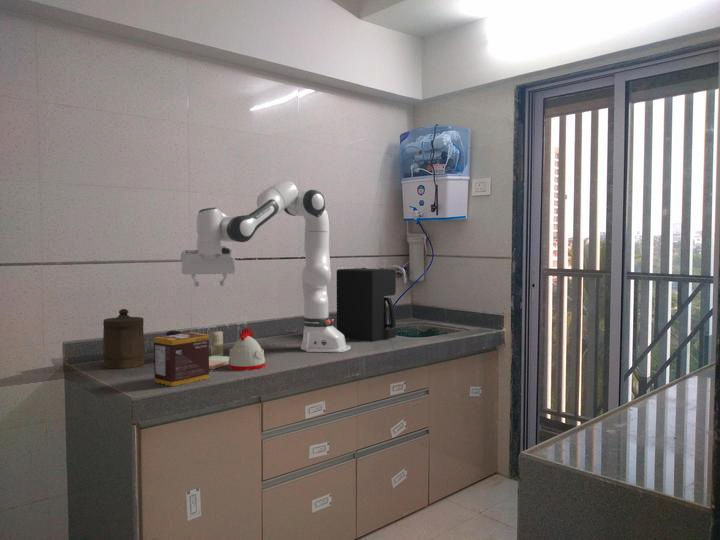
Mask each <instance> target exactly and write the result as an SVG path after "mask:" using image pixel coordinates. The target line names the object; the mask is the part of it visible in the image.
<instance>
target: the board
mask: <svg viewBox="0 0 720 540" xmlns="http://www.w3.org/2000/svg"><path fill="white" fill-rule="evenodd" d="M229 357H230V356H226V355H225V356H224V355H223V356H214V355H213V356H211V355H209V370H215V369H217V368H221V367H223V366H226V365H228V362H229Z"/></svg>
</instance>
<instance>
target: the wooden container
mask: <svg viewBox="0 0 720 540" xmlns="http://www.w3.org/2000/svg"><path fill="white" fill-rule="evenodd" d="M144 322H145V321H144V317H141V316H138V317H137V316H130V315H129V310H128V309H126V308H122V309H120V310H118V316H117V317H111V318H110V317H109V318H105V319H103V323H102V325H103V331H102V332H103V333H102V334H103V338H102V339H103V340H102V342H103V345H102V346H103V347H102V348H103V349H102V350H103V352H102V355H103V367H104V368H107V369H113V370H114V369H116V370H117V369H130V368H135V367H141V366H143V365H145V336H144Z"/></svg>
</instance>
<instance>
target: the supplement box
mask: <svg viewBox="0 0 720 540" xmlns="http://www.w3.org/2000/svg"><path fill="white" fill-rule="evenodd" d="M209 340H210V335H209V334H206V333H198V332H194V331H190V332H184V333H183V332H182V334H175V335H168V336H166V335H164V336H163V335H162V336H156V337H154V338H153V359H154V360H153V361H154V362H153V363H154V364H153V366H154V368H153V369H154V372H153V373H154V383H155V382H157V383H156V384H159V383H161V385H163V384H165V386H167V385H169V386H168V387H171V386H173V387H176V386H175V385H177V386H181V385H180V384H182V385H186V384H190V382H191V383H195V382H194V381H196V382H198V380H200V381H204V380H203V379H205V380H209V379H210V369H209V357H210V341H209ZM208 378H209V379H208ZM185 383H186V384H185Z"/></svg>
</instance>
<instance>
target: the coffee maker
mask: <svg viewBox="0 0 720 540" xmlns="http://www.w3.org/2000/svg"><path fill="white" fill-rule="evenodd" d="M396 274H397V272H396V270H395V269H394V268H391V269H390V268H384V267H383V268H382V267H379V268H367V267H361V268H360V267H359V268H357V267H356V268H338V269H336V329H337V330H338V331H340V332H341V333H342V334H343V335H344V337H345V339H349V340H358V341H365V342H370V343H371V342H378V341H384V340H389V339H392V338H393V339H394V338H396V337H397V331H396V329H395V328H396V327H397V326H396V325H397V324H396V323H397V322H396V314H395V313H396V312H395V308H394V303H393V300H392V298H391V296H395V295H396V292H397V289H396V288H397V287H396V284H397V283H396V279H397V277H396ZM388 296H389V297H388ZM387 306H388V307H387ZM389 317H390V323H389Z"/></svg>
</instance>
